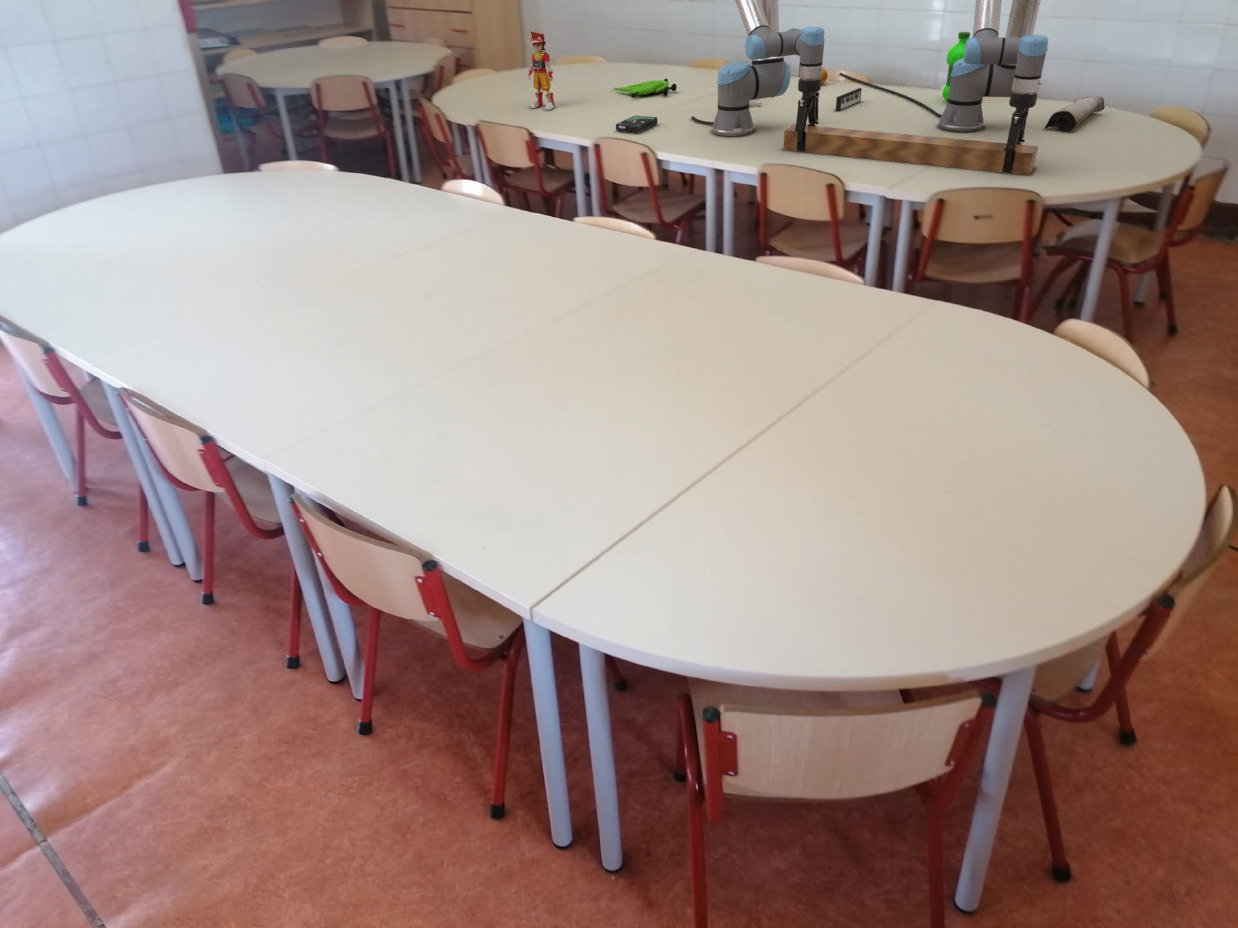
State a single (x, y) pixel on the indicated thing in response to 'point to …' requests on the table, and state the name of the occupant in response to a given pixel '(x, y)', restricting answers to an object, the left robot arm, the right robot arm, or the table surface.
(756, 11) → the left robot arm
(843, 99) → the midi keyboard
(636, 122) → the disk drive
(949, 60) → the plastic bottle
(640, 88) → the toy
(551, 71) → the toy
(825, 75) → the fruit
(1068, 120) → the rolled mat
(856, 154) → the slab
